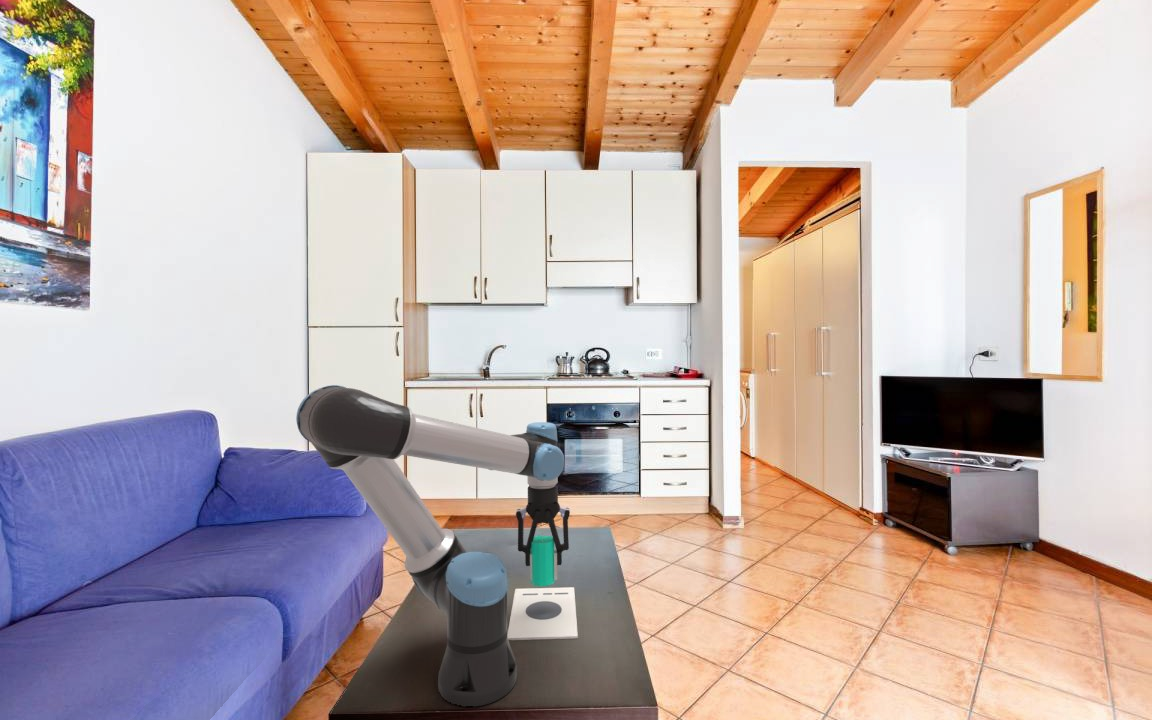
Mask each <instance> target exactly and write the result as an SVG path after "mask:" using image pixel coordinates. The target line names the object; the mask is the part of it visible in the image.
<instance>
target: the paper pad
mask: <svg viewBox="0 0 1152 720" xmlns="http://www.w3.org/2000/svg"><path fill="white" fill-rule="evenodd" d="M512 600H513V601H512V606H511V611H510V612H511V613H510V619H509V624H508V627H507V637H508V641H527V640H528V641H529V640H562V639H563V640H567V639H568V640H569V639H579V637H578V636H579V635H578V623H577V608H576V596H575V587H574V586H573V587H540V588H539V587H538V588H537V587H536V588H535V587H534V588H533V587H532V588H531V587H530V588H515V590H514V595H513V599H512Z"/></svg>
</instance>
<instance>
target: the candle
mask: <svg viewBox="0 0 1152 720" xmlns="http://www.w3.org/2000/svg"><path fill="white" fill-rule="evenodd" d="M543 533H544V532H541V534H538V535H534V538H533V542H532V546H531V554H532V581H530V583H531V584H532V585H533V586H536V587H549V586H552V585H553V584H554V583H555V582H556V580H554V550H555V543H554V540H553V536H552V535H544V534H543Z"/></svg>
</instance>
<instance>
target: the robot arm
mask: <svg viewBox="0 0 1152 720" xmlns="http://www.w3.org/2000/svg"><path fill="white" fill-rule="evenodd" d="M295 418H296V419H295V420H296V425H297V429H298V432H299V433H300V435H301V436H302V437H303V439H305V440H307V442H309V443H310V444H311V445H312V446H313V447H314V449H316V451H317V452H318V454H319V455H320V457H321V458H322V459H323V460H324V462H325V463H326V464H327V466H328V467H329V468H330V469H331V470H332V469H333V470H341V471H343V472H344V473H345V475H346V476H347V478H348V479H349V480H350V481H351V484H352V485H354V487H355V489H356V490H357V491H358V492H359V494H360V496H361V497H362V498H363V499H364V501H366V503H367V505H368V506H369V507H370V509H371V510H372V511H373V513H374V514H375V516H376V517H377V518H378V520H379V521H380V522H381V524H382V525H383V526H384V528H385V529H386V530H387V532H388V533H389V534H390V536H391V537H392V538H393V540H394V541H395V542H396V544H397V545H398V546H399V548H400V550H401V551H403V553H404V555H405V559H404V568H405V570H406V571H407V573H408V574H409V575H410V576H411V579H412V582H413V583H414V586H415V588H416V590H418V591H419V592H420V593H421V594H422V595H423V596H425V597H426V598H427V599H429V600H430V602H432V603H433V604H434V606H436V607H437V608H438V609H439V610H441V612H442V613H444V614H445V615H446V626H447V627H446V638H447V640H446V641H447V645H446V648H445V651H444V654H443V657H442V662H441V665H440V667H439V670H438V675H437V676H438V677H437V678H438V679H437V683H438V684H437V686H438V689H437V690H438V692H440V693H439V695H440V694H441V695H440V696H441V697H442V699H444V700H445V701H446V700H447V701H446V702H448V703H450V702H451V703H450V704H452V705H455V704H457V705H456V706H459V705H461V707H466V706H473V707H481V706H485V705H489V704H492V703H494V702H496V701H498V700H501V699H503V698H504V697H505V696H506V695H508V694H509V693H510V691H511V690H513V689H514V687H515V685H516V683H517V679H518V678H517V677H518V675H517V673H518V669H517V662H516V658H515V655H514V653H513V650H512V647H511V644H510V640H508V637H507V633H508V587H509V580H508V575H507V568H506V564H505V563H504V561H503V560H502V559H501V558H500V557H499V556H497V555H496V554H492V553H490V552H485V553H484V552H483V551H469V552H468V551H467V550H466V548H465V547H464V546H463V545H462V543H461V541H460V540H459V538H458V537H457V536H456V534H455V533H454V531H453V530H452V529H450V528H442V527H441V526H440V524H439V523H438V521H437V520H436V518H435V517H434V516H433V514H432V512H431V511H430V509H429V508H428V507H427V506H426V504H425V502H424V501H423V500H422V498H421V496H420V495H419V493H418V492H417V491H416V489H415V488H414V487H413V485H412V484H411V482H410V481H409V479H408V478H407V477H406V475H405V474H404V472H403V470H402V469H401V468H400V466H399V464H397V461H396V460H397V459H398V458H400V457H401V456H405V457H413V458H418V459H424V460H431V461H437V462H444V463H449V464H455V465H461V466H467V467H468V466H469V467H473V468H479V469H484V470H485V469H486V470H489V471H497V472H503V473H510V474H513V475H514V474H515V475H520V476H525V477H527V478H526V479H527V485H528V487H527V504H526V506H525V507H524V508H518V509H517V510H516V512H515V517H516V519H517V522H518V523H517V550H518V552H522V553H524V555H525V563H524V564H525V566H526V567H529V579H530V580H529V581H530V582H531V581H532V554H531V546H532V542H533V538H534V537H535V536H536V535H535V534H536V530H537V526H538V525H540V524H542V523H543V524H548V526H549V528H550V529H549V530H550V532H551V537H552V538H553V540H554V548H555V549H554V580H555V581H557V580H558V566H562V563H563V559H562V558H563V556H562V555H563V552H564V551H569V549H570V545H569V543H570V541H569V517H570V515H571V511H570V508H569V507H566V508H565V507H562V506H560V503H559V487H558V485H557V484H558V483H559V481H558V477H559V476H560V475H561V474H562V473H563V470H564V467H565V455H564V453H563V451H562V450H561V449H560V448H559V447H558V442H559V441H558V431H557V426H556V424H554V423H553V422H549V421H548V422H546V421H545V422H543V421H542V422H541V421H540V422H531V423H528V424H527V426H526V430H525V432H523V433H518V434H505V433H500V432H496V431H491V430H487V429H482V428H479V427H473V426H469V425H466V424H461V423H457V422H456V423H455V422H452V421H447V420H443V419H439V418H434V417H429V416H426V415H420V414H416V413H414V412H413V411H412V410H411V408H410V407H409V406H407V405H402V404H399V403H394V402H391V401H388V400H386V399H384V398H380V397H378V396H375V395H373V394H370V393H368V392H365V391H363V390H361V389H356V388H352V387H347V386H346V387H345V386H343V385H337V384H331V385H326V386H322V387H319V388H317V389H314V390H313V391H311V392H310V393H309V394H307V395H306V396H305V397H304V398H303V399H302V400H301V402H300V403H299V406H298V408H297V412H296V417H295ZM558 513H560V517H561V518H562V531H563V535H562V537H563V543H561V540H560V536H559V534H558V529H557V526H556V523H555V518H556V516H558ZM526 514H527V515H528V516H529V517H530V518H531V519H532V523H531V525H530V529H529V534H528V538H527V541H526V544H524V537H525V536H524V534H525V533H524V530H525V529H524V527H525V526H524V524H525V523H524V522H525V520H524V519H525V517H526ZM462 705H463V706H462Z"/></svg>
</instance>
